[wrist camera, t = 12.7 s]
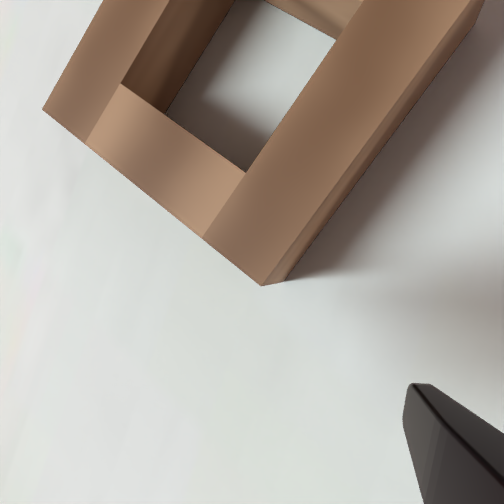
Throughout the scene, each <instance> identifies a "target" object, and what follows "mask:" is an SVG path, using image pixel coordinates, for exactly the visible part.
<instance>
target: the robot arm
mask: <svg viewBox="0 0 504 504" xmlns="http://www.w3.org/2000/svg"><path fill="white" fill-rule="evenodd" d="M403 428H404V432H405V436H406V439H407V443H408V447H409V451H410V454H411V458H412V462H413V466H414V469H415V473H416V477H417V481H418V484H419V488H420V492H421V495H422V499H423V502H424V504H504V433H502V432H501V431H499V430H498V429H496V428H495V427H493V426H492V425H490V424H489V423H487V422H486V421H484V420H483V419H481V418H480V417H478V416H477V415H476V414H474V413H473V412H471V411H470V410H468V409H467V408H465V407H464V406H462V405H461V404H459V403H458V402H456V401H455V400H453V399H452V398H450V397H449V396H447V395H446V394H444V393H443V392H442V391H440V390H439V389H437V388H436V387H434V386H433V385H431V384H421V383H411V384H410V385H409V386H408V389H407V394H406V399H405V405H404V411H403Z"/></svg>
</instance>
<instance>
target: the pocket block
mask: <svg viewBox="0 0 504 504" xmlns="http://www.w3.org/2000/svg"><path fill="white" fill-rule="evenodd" d="M234 1H235V0H103V2H102V4H101V5H100V7H99V9H98V11H97V13H96V14H95V16H94V18H93V20H92V21H91V23H90V25H89V27H88V29H87V30H86V32H85V34H84V36H83V37H82V39H81V41H80V43H79V45H78V46H77V48H76V50H75V52H74V53H73V55H72V57H71V59H70V61H69V62H68V64H67V66H66V68H65V69H64V71H63V73H62V75H61V77H60V78H59V80H58V82H57V84H56V85H55V87H54V89H53V91H52V93H51V94H50V96H49V98H48V100H47V101H46V103H45V105H44V107H43V109H42V110H43V111H45V112H46V113H47V114H48V115H50V116H51V117H52V118H53V119H55V120H56V121H57V122H58V123H59V124H61V125H62V126H63V127H64V128H66V129H67V130H68V131H69V132H71V133H72V134H73V135H74V136H76V137H77V138H78V139H79V140H81V141H82V142H83V143H84V144H85V145H87V146H88V147H89V148H90V149H92V150H93V151H94V152H95V153H97V154H98V155H99V156H100V157H102V158H103V159H104V160H105V161H107V162H108V163H109V164H110V165H111V166H113V167H114V168H115V169H116V170H118V171H119V172H120V173H121V174H123V175H124V176H125V177H126V178H128V179H129V180H130V181H131V182H133V183H134V184H135V185H136V186H137V187H139V188H140V189H141V190H142V191H144V192H145V193H146V194H147V195H149V196H150V197H151V198H152V199H154V200H155V201H156V202H157V203H158V204H160V205H161V206H162V207H163V208H165V209H166V210H167V211H168V212H170V213H171V214H172V215H173V216H175V217H176V218H177V219H178V220H180V221H181V222H182V223H183V224H184V225H186V226H187V227H188V228H189V229H191V230H192V231H193V232H194V233H196V234H197V235H198V236H199V237H201V238H202V239H203V240H204V241H206V242H207V243H208V244H209V245H210V246H212V247H213V248H214V249H215V250H217V251H218V252H219V253H220V254H222V255H223V256H224V257H225V258H227V259H228V260H229V261H230V262H232V263H233V264H234V265H235V266H236V267H238V268H239V269H240V270H241V271H243V272H244V273H245V274H246V275H248V276H249V277H250V278H251V279H253V280H254V281H255V282H256V283H258V284H259V285H260V286H265V285H270V284H275V283H280V282H283V281H284V280H285V279H286V277H287V276H288V275H289V273H290V272H291V271H292V269H293V268H294V267H295V265H296V264H297V262H298V261H299V260H300V258H301V257H302V256H303V254H304V253H305V252H306V250H307V249H308V248H309V246H310V245H311V244H312V242H313V241H314V240H315V238H316V237H317V236H318V234H319V233H320V231H321V230H322V229H323V227H324V226H325V225H326V223H327V222H328V221H329V219H330V218H331V217H332V215H333V214H334V213H335V211H336V210H337V209H338V207H339V206H340V205H341V203H342V202H343V200H344V199H345V198H346V196H347V195H348V194H349V192H350V191H351V190H352V188H353V187H354V186H355V184H356V183H357V182H358V180H359V179H360V178H361V176H362V175H363V174H364V172H365V171H366V169H367V168H368V167H369V165H370V164H371V163H372V161H373V160H374V159H375V157H376V156H377V155H378V153H379V152H380V151H381V149H382V148H383V147H384V145H385V144H386V143H387V141H388V140H389V138H390V137H391V136H392V134H393V133H394V132H395V130H396V129H397V128H398V126H399V125H400V124H401V122H402V121H403V120H404V118H405V117H406V116H407V114H408V113H409V112H410V110H411V109H412V107H413V106H414V105H415V103H416V102H417V101H418V99H419V98H420V97H421V95H422V94H423V93H424V91H425V90H426V89H427V87H428V86H429V85H430V83H431V82H432V81H433V79H434V78H435V76H436V75H437V74H438V72H439V71H440V70H441V68H442V67H443V66H444V64H445V63H446V62H447V60H448V59H449V58H450V56H451V55H452V54H453V52H454V51H455V49H456V48H457V47H458V45H459V44H460V43H461V41H462V40H463V39H464V37H465V36H466V35H467V33H468V32H469V31H470V29H471V28H472V27H473V25H474V24H475V22H476V20H477V17H478V15H479V12H480V10H481V8H482V5H483V3H484V0H265V1H266V2H268V3H270V4H272V5H274V6H276V7H277V8H279V9H281V10H283V11H285V12H287V13H288V14H290V15H292V16H294V17H296V18H297V19H299V20H301V21H303V22H305V23H307V24H308V25H310V26H312V27H314V28H316V29H318V30H319V31H321V32H323V33H325V34H327V35H328V36H330V37H332V38H334V39H336V42H335V43H334V45H333V46H332V48H331V49H330V50H329V52H328V53H327V55H326V56H325V58H324V59H323V61H322V62H321V64H320V65H319V67H318V68H317V70H316V71H315V72H314V74H313V75H312V77H311V78H310V80H309V81H308V83H307V84H306V86H305V87H304V89H303V90H302V92H301V93H300V94H299V96H298V97H297V99H296V100H295V102H294V103H293V105H292V106H291V108H290V109H289V111H288V112H287V114H286V115H285V116H284V118H283V119H282V121H281V122H280V124H279V125H278V127H277V128H276V130H275V131H274V133H273V134H272V135H271V137H270V138H269V140H268V141H267V143H266V144H265V146H264V147H263V149H262V150H261V152H260V153H259V155H258V156H257V157H256V159H255V160H254V162H253V163H252V165H251V166H250V168H249V169H248V171H247V172H244V171H243V170H241V169H240V168H239V167H237V166H236V165H234V164H233V163H232V162H230V161H229V160H227V159H226V158H225V157H223V156H222V155H220V154H219V153H218V152H216V151H215V150H213V149H212V148H211V147H209V146H208V145H206V144H205V143H204V142H202V141H201V140H199V139H198V138H197V137H195V136H194V135H192V134H191V133H190V132H188V131H187V130H185V129H184V128H183V127H181V126H180V125H178V124H177V123H176V122H174V121H173V120H171V119H170V118H169V117H167V116H166V115H164V114H165V112H166V110H167V109H168V107H169V106H170V104H171V102H172V101H173V99H174V98H175V96H176V94H177V93H178V91H179V90H180V88H181V86H182V85H183V83H184V81H185V80H186V78H187V77H188V75H189V73H190V72H191V70H192V69H193V67H194V65H195V64H196V62H197V61H198V59H199V57H200V56H201V54H202V53H203V51H204V49H205V48H206V46H207V45H208V43H209V41H210V40H211V38H212V37H213V35H214V33H215V32H216V30H217V29H218V27H219V25H220V24H221V22H222V20H223V19H224V17H225V16H226V14H227V12H228V11H229V9H230V8H231V6H232V4H233V3H234Z"/></svg>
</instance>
